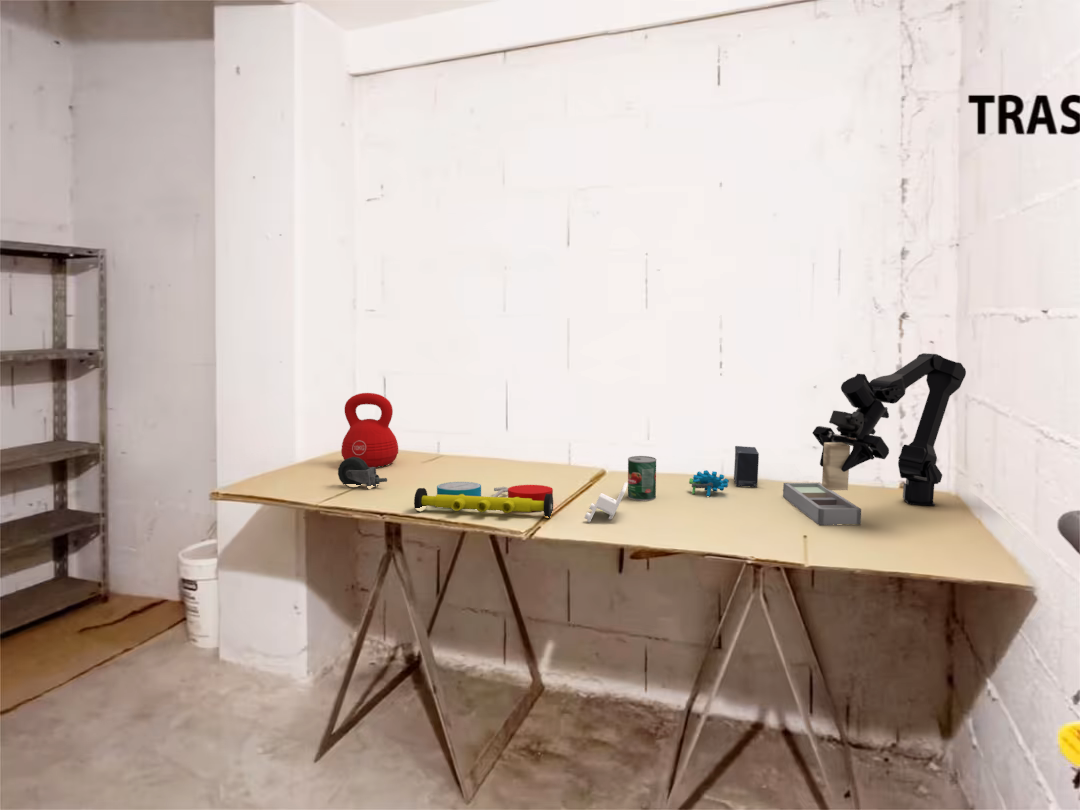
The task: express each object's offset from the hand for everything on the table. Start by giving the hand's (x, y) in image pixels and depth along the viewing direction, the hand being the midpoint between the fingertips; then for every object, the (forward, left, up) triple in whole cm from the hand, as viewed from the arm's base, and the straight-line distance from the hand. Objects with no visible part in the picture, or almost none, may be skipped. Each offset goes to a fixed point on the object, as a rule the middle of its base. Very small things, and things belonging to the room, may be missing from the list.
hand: (831, 467), depth 169 cm
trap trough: (+1, -10, -13) cm, 17 cm away
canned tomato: (+48, -10, -14) cm, 51 cm away
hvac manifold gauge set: (+86, +9, -14) cm, 88 cm away
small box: (+20, -34, -14) cm, 42 cm away
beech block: (-1, -1, -5) cm, 5 cm away
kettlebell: (+144, -27, -14) cm, 147 cm away
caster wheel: (+130, +1, -14) cm, 131 cm away
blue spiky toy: (+30, -19, -14) cm, 38 cm away
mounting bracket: (+54, +12, -14) cm, 57 cm away
